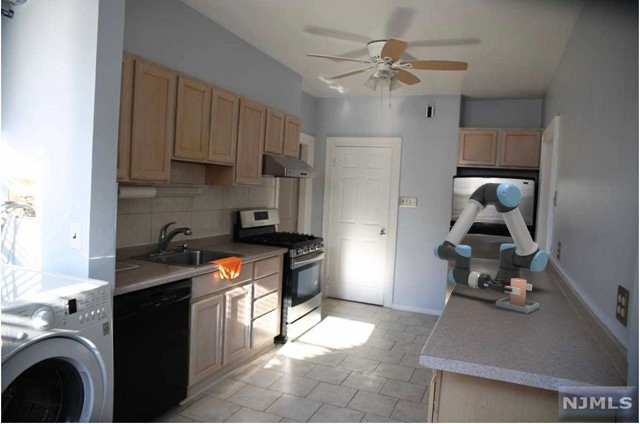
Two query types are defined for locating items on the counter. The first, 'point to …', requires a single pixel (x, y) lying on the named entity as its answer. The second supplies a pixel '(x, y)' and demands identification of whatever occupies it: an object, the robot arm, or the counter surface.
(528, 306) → the grey tray
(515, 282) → the light orange tall cylinder
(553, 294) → the counter surface
